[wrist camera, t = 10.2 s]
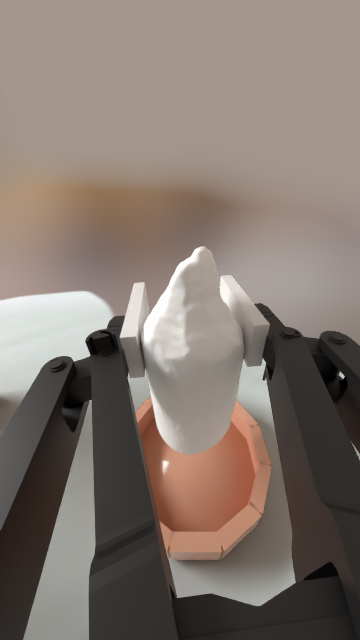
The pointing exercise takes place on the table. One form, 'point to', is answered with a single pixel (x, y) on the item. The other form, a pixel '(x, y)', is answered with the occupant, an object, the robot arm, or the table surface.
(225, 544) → the bowl
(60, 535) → the table surface
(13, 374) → the table surface
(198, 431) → the white tapered upright piece
